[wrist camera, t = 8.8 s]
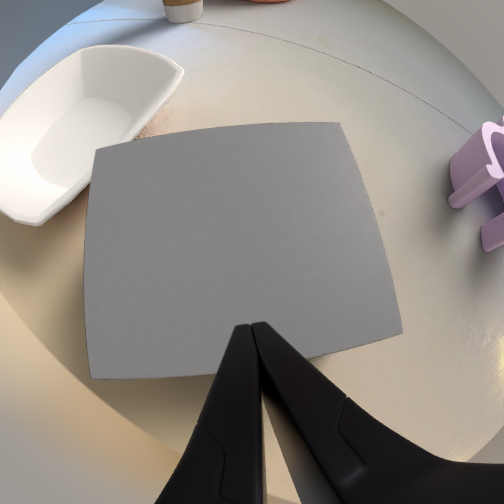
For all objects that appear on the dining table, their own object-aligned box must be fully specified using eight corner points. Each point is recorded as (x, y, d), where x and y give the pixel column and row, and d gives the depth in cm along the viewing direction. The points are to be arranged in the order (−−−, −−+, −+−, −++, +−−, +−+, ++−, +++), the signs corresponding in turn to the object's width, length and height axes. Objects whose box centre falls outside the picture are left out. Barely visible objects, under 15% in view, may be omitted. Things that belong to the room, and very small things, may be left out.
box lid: (100, 156, 15) (95, 148, 14) (336, 130, 16) (339, 122, 15) (97, 377, 11) (90, 379, 10) (395, 334, 12) (403, 333, 12)
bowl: (216, 104, 26) (214, 65, 21) (71, 278, 20) (35, 261, 15) (95, 66, 29) (85, 39, 24) (-13, 181, 22) (-35, 161, 17)
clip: (472, 125, 30) (495, 99, 23) (520, 185, 27) (546, 164, 21) (432, 185, 25) (469, 150, 18) (496, 269, 23) (539, 250, 16)
